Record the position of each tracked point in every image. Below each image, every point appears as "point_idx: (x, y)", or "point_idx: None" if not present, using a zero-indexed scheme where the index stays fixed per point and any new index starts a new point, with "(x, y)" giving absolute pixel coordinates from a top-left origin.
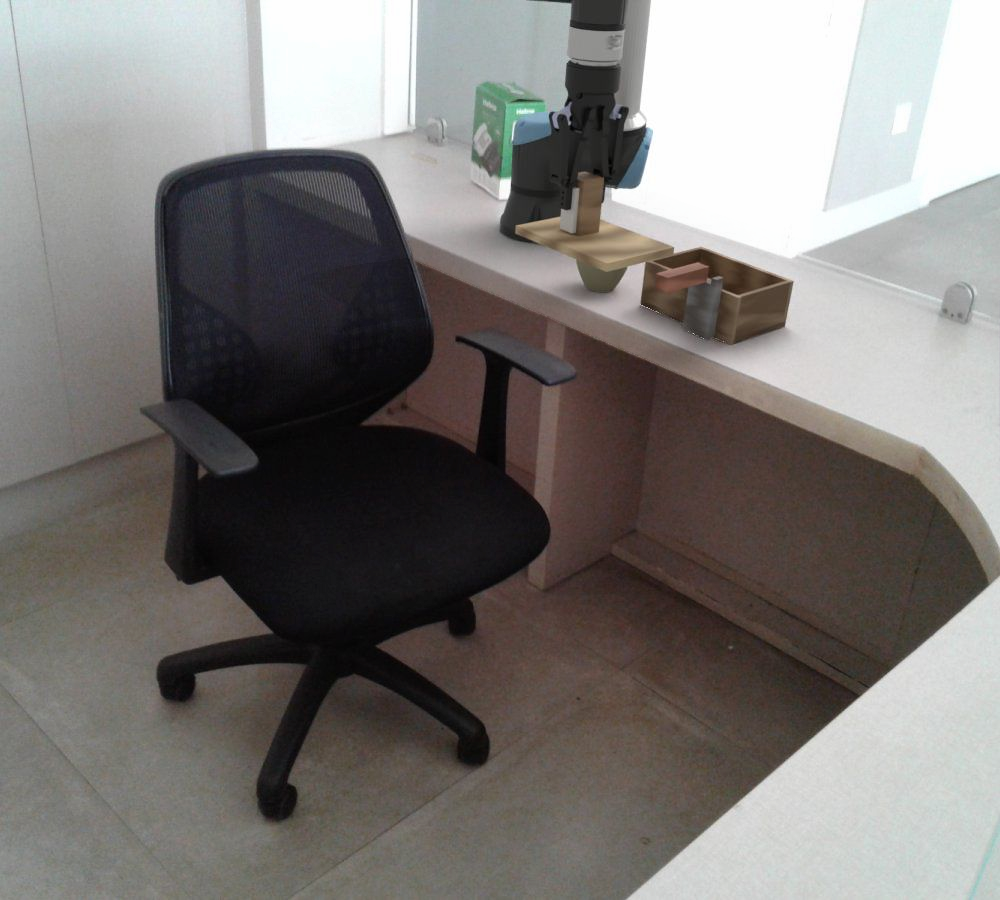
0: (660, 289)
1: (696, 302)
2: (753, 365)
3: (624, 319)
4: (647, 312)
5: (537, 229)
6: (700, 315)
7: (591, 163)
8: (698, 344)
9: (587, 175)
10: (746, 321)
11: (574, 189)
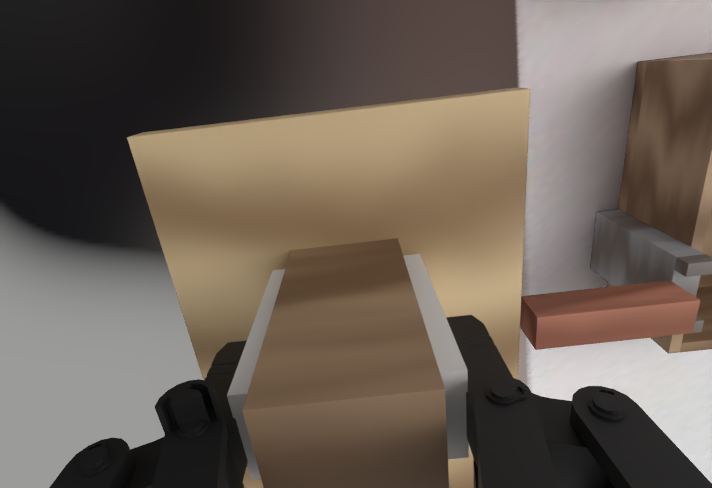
0: (522, 316)
1: (633, 261)
2: (567, 364)
3: (541, 115)
4: (615, 105)
5: (197, 218)
6: (616, 265)
7: (480, 479)
8: (563, 273)
9: (388, 464)
10: None
11: (250, 467)
